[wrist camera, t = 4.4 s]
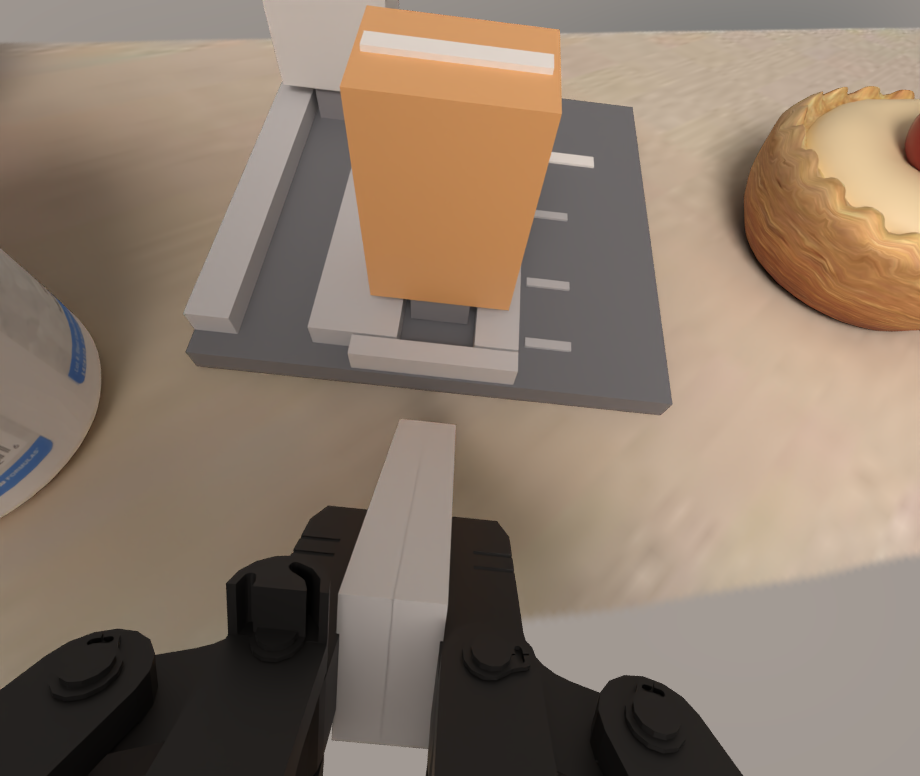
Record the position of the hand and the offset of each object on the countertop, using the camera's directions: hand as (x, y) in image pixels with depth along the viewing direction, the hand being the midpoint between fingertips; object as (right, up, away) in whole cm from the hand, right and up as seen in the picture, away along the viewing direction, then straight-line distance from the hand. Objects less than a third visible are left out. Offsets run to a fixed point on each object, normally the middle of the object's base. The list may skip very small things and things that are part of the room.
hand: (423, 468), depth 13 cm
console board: (+1, +10, +10) cm, 14 cm away
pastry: (+20, +9, +11) cm, 24 cm away
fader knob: (0, +6, +6) cm, 9 cm away
